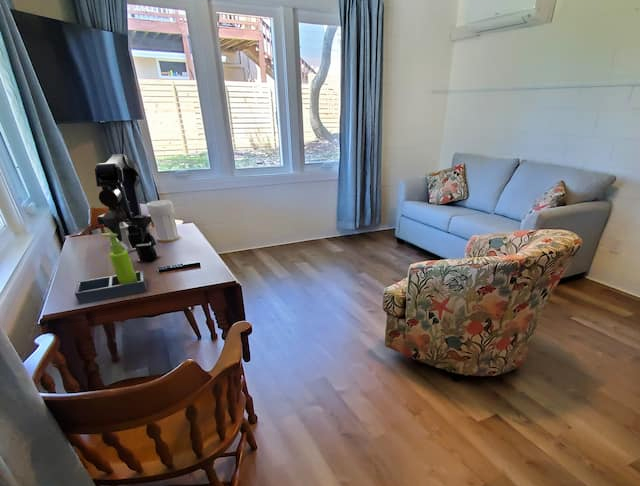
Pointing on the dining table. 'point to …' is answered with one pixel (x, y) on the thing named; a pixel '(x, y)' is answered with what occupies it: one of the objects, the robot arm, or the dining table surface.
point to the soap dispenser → (121, 261)
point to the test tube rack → (125, 238)
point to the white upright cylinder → (163, 220)
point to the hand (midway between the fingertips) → (131, 241)
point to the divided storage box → (108, 288)
